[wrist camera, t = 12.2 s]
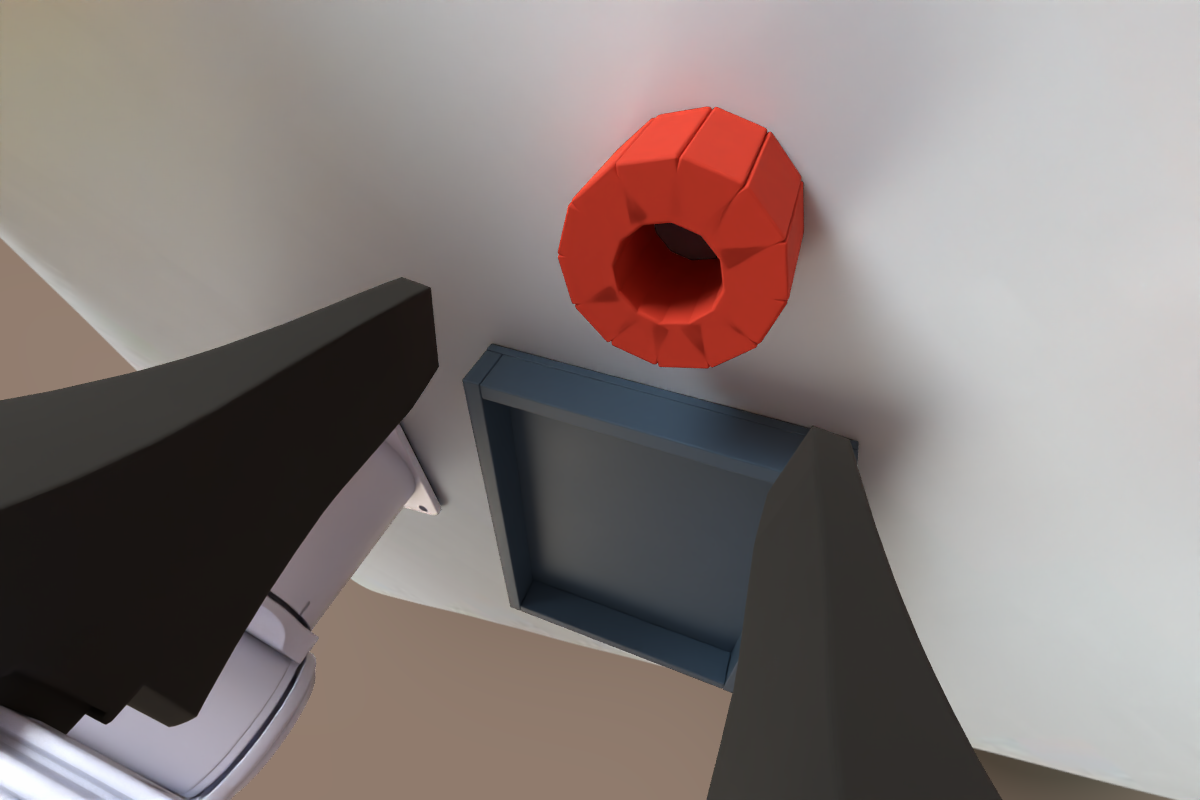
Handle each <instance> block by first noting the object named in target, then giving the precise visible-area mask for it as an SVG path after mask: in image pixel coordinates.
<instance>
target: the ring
mask: <svg viewBox="0 0 1200 800" xmlns="http://www.w3.org/2000/svg"><path fill="white" fill-rule="evenodd" d="M661 223H674V224H676V225H678V226H680V227H683V228H685V229H687V230H689V231H692V232H694V233H696V234H698V235H700V236H702V238H703V239H704V240H705V241H706V243H707V244H708V245H709V247H710V248H711V249H712V250H713V252H714V253H715V254H716V256H717V257H718V258H716V259H703V260H689V259H687V258H685V257H683V256H681V255H678V254H676V253H674V252H672V251H670V250H669V248H668V247H667V246H666V245H665V243H664V242H663V241H662V240H661V238H660V237H659V236H658V235H657V234H656V231H655V225H654V224H661ZM803 233H804V205H803V182H802V181H801V175H800V174H799V172H798V171H797V169H796V168H795V166H794V165H793V163H792V162H791V160H790V159H789V157H788V156H787V154H786V153H785V151H784V150H783V148H782V147H781V145H780V144H779V142H778V141H777V139H776V138H775V137H774V135H773V134H772V132H768V133H767V129H766V128H764V127H762V126H760V125H757V124H755V123H753V122H750V121H748V120H746V119H744V118H741V117H739V116H737V115H734V114H732V113H730V112H727V111H725V110H723V109H720V108H718V107H715V108H714V109H713V110H712V109H711V107H702V108H696V109H690V110H684V111H679V112H673V113H667V114H661V115H658V116H657V117H656V118H652V119H650V120H649V121H648V122H647V123H646V124H645V125H644V126H643V127H642V128H641V129H640V130H638V131H637V132H636V133H635V134H634V135H633V136H632V137H631V138H630V139H629V140H628V141H626V142H625V143H624V144H623V145H622V146H621V147H620V148H619V149H618V150H617V151H616V152H615V153H614V154H613V155H612V156H611V157H610V158H609V160H608V161H607V162H606V163H605V164H604V165H603V166H602V167H601V168H600V169H599V170H598V172H597V173H596V174H595V175H594V176H593V177H592V178H591V179H590V180H589V181H588V182H587V184H586V185H585V186H584V187H583V188H582V189H581V190H580V191H579V192H578V193H577V194H576V196H575V197H574V198H573V199H572V202H571V203H570V204H569V205H568V209H567V214H566V218H565V222H564V227H563V231H562V236H561V240H560V244H559V249H558V254H559V255H558V260H559V263H560V266H561V269H562V273H563V276H564V279H565V282H566V285H567V288H568V292H569V295H570V298H571V301H572V303H573V304H576V305H575V307H576V309H577V310H578V311H579V312H580V313H581V314H582V315H583V316H584V317H585V318H586V320H587V321H588V322H589V323H590V324H591V325H592V326H593V327H594V328H595V329H596V330H597V331H598V333H599V334H600V335H601V336H602V337H603V338H604V339H605V340H606V341H607V342H610V341H612V345H613V346H615V347H617V348H619V349H622V350H624V351H626V352H628V353H630V354H632V355H635V356H637V357H639V358H641V359H643V360H645V361H648V362H650V363H652V364H657V363H658V365H659V367H679V368H709V367H710V366H711V367H715V366H717V365H719V364H721V363H724V362H726V361H728V360H730V359H732V358H734V357H737V356H739V355H741V354H743V353H745V352H748V351H750V350H752V349H754V348H756V347H757V345H758V344H759V343H761V342H762V340H763V339H764V337H765V336H766V334H767V333H768V331H769V330H770V328H771V327H772V325H773V324H774V322H775V321H776V319H777V318H778V316H779V315H780V313H781V312H782V310H783V309H784V307H785V306H786V304H787V301H788V299H789V296H790V292H791V287H792V283H793V278H794V274H795V269H796V265H797V260H798V256H799V251H800V247H801V242H802V238H803Z"/></svg>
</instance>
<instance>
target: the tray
mask: <svg viewBox="0 0 1200 800" xmlns="http://www.w3.org/2000/svg"><path fill="white" fill-rule="evenodd" d="M463 386H464V390H465V395H466V400H467V404H468V409H469V414H470V419H471V423H472V428H473V433H474V437H475V442H476V447H477V452H478V456H479V461H480V466H481V470H482V475H483V480H484V484H485V489H486V494H487V499H488V503H489V508H490V513H491V517H492V522H493V527H494V531H495V536H496V541H497V546H498V550H499V555H500V560H501V564H502V569H503V574H504V578H505V583H506V588H507V593H508V597H509V602H510V607H512V608H515V609H517V610H521V611H523V612H525V613H528V614H530V615H533V616H536V617H538V618H541V619H543V620H546V621H548V622H551V623H554V624H556V625H559V626H561V627H564V628H567V629H569V630H572V631H574V632H577V633H579V634H582V635H585V636H587V637H590V638H592V639H595V640H598V641H600V642H603V643H605V644H608V645H610V646H613V647H616V648H618V649H621V650H623V651H626V652H629V653H631V654H634V655H636V656H639V657H641V658H644V659H647V660H649V661H652V662H654V663H657V664H660V665H662V666H665V667H667V668H670V669H672V670H675V671H678V672H680V673H683V674H686V675H688V676H690V677H693V678H696V679H698V680H701V681H703V682H706V683H709V684H711V685H714V686H716V687H719V688H723V690H726V691H729V692H731V693H733V688H734V683H735V677H736V671H737V666H738V659H739V651H740V644H741V636H742V629H743V621H744V614H745V606H746V599H747V591H748V584H749V577H750V570H751V562H752V555H753V548H754V543H755V539H756V535H757V531H758V527H759V523H760V519H761V515H762V512H763V508H764V504H765V501H766V497H767V493H768V492H769V490H770V489H771V487H772V486H773V484H774V483H775V481H776V480H777V478H778V477H779V475H780V474H781V472H782V471H783V469H784V468H785V466H786V465H787V463H788V462H789V460H790V459H791V457H792V456H793V454H794V453H795V451H796V450H797V448H798V447H799V445H800V444H801V442H802V441H803V439H804V438H805V436H806V435H807V433H808V432H809V430H810V429H809V428H805V427H802V426H798V425H794V424H790V423H787V422H783V421H779V420H775V419H772V418H768V417H764V416H760V415H757V414H753V413H749V412H745V411H742V410H738V409H734V408H730V407H727V406H723V405H719V404H715V403H712V402H708V401H704V400H700V399H697V398H693V397H689V396H685V395H682V394H678V393H674V392H670V391H667V390H663V389H659V388H655V387H652V386H648V385H644V384H640V383H637V382H633V381H629V380H625V379H622V378H618V377H614V376H610V375H607V374H603V373H599V372H595V371H592V370H588V369H584V368H581V367H577V366H573V365H569V364H566V363H562V362H558V361H554V360H551V359H547V358H543V357H539V356H536V355H532V354H528V353H524V352H521V351H517V350H513V349H509V348H506V347H502V346H498V345H494V344H491V345H490V346H489V347H488V348H487V351H485V353H484V354H483V355H482V356H481V358H480V359H479V360H478V361H477V362H476V364H475V365H474V366H473V367H472V369H471V370H470V371H469V372H468V374H467V375H466V376H465V377H464V378H463ZM849 440H850V439H849ZM850 443H851V445H852V448H853V452H854V455H855V459H856V462H857V464H858V444H859V443H858V441H854V440H850Z"/></svg>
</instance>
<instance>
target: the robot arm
mask: <svg viewBox="0 0 1200 800" xmlns="http://www.w3.org/2000/svg"><path fill="white" fill-rule="evenodd" d="M438 367H439V363H438V353H437V344H436V334H435V324H434V315H433V305H432V295H431V288H430V287H428V286H425V285H422V284H419V283H417V282H414V281H411V280H408V279H406V278H403V277H401V278H398V279H395V280H393V281H390V282H387V283H384V284H382V285H379V286H377V287H374V288H372V289H369V290H367V291H364V292H362V293H359V294H357V295H354V296H352V297H350V298H347V299H345V300H342V301H340V302H337V303H335V304H333V305H330V306H328V307H325V308H323V309H320V310H318V311H315V312H313V313H310V314H308V315H305V316H303V317H300V318H298V319H295V320H293V321H290V322H288V323H285V324H283V325H280V326H277V327H274V328H272V329H269V330H266V331H263V332H260V333H258V334H255V335H252V336H249V337H247V338H244V339H241V340H238V341H235V342H233V343H230V344H227V345H224V346H221V347H219V348H215V349H212V350H209V351H206V352H203V353H200V354H197V355H193V356H190V357H187V358H184V359H180V360H176V361H173V362H169V363H166V364H162V365H159V366H155V367H152V368H148V369H144V370H140V371H137V372H133V373H129V374H124V375H120V376H116V377H111V378H107V379H102V380H98V381H94V382H89V383H85V384H81V385H76V386H72V387H67V388H63V389H58V390H54V391H49V392H44V393H39V394H33V395H28V396H22V397H17V398H11V399H6V400H0V800H231V799H232V797H234V795H235V794H237V793H238V792H239V791H240V790H242V789H243V788H244V787H245V786H246V785H247V784H248V783H249V782H250V781H251V780H252V779H253V778H254V777H255V776H256V775H257V774H258V773H259V772H260V770H261V769H262V768H263V767H264V766H265V765H266V763H267V762H268V761H269V760H270V758H271V757H272V756H273V755H274V753H275V752H276V751H277V749H278V748H279V747H280V745H281V744H282V743H283V741H284V740H285V738H286V737H287V735H288V734H289V732H290V731H291V729H292V728H293V726H294V725H295V723H296V721H297V720H298V718H299V716H300V715H301V713H302V711H303V709H304V707H305V705H306V703H307V701H308V699H309V697H310V695H311V693H312V690H313V687H314V683H315V667H316V658H315V656H314V655H313V654H312V653H310V652H309V651H310V650H311V649H312V647H313V646H314V645H315V643H316V642H317V640H318V639H319V638H318V636H316V635H315V634H314V633H312V632H311V631H312V629H313V628H314V627H315V625H316V624H317V622H318V621H319V620H320V618H321V617H322V616H323V614H324V613H325V612H326V610H327V609H328V608H329V606H330V605H331V604H332V602H333V601H334V599H335V598H336V597H337V596H338V594H339V593H340V591H341V590H342V589H343V588H344V586H345V585H346V583H347V582H348V581H349V579H350V578H351V577H352V575H353V574H354V573H355V571H356V570H357V569H358V567H359V566H360V565H361V563H362V562H363V561H364V559H365V558H366V557H367V555H368V554H369V553H370V551H371V550H372V549H373V547H374V546H375V544H376V543H377V542H378V540H379V539H380V538H381V536H382V535H383V534H384V532H385V531H386V530H387V528H388V527H389V526H390V524H391V523H392V522H393V520H394V519H395V518H396V516H397V515H398V514H399V512H400V511H401V510H402V508H403V507H405V508H408V509H412V510H416V511H419V512H423V513H427V514H430V515H435V516H436V515H438V514H439V513H440V511H441V510H442V509H441V506H440V504H439V502H438V500H437V498H436V496H435V494H434V492H433V490H432V488H431V486H430V484H429V482H428V480H427V478H426V476H425V474H424V472H423V470H422V468H421V466H420V464H419V462H418V460H417V458H416V456H415V454H414V452H413V450H412V448H411V446H410V444H409V442H408V440H407V438H406V436H405V434H404V432H403V430H402V428H401V426H400V424H399V423H400V422H401V421H402V420H403V418H404V417H405V416H406V415H407V414H408V412H409V411H410V410H411V409H412V408H413V406H414V405H415V403H416V402H417V400H418V399H419V397H420V396H421V394H422V393H423V391H424V390H425V388H426V387H427V385H428V383H429V382H430V380H431V379H432V377H433V375H434V374H435V372H436V371H437V369H438ZM707 800H1002V799H1001V797H1000V795H999V794H998V792H997V790H996V788H995V787H994V785H993V783H992V781H991V780H990V778H989V777H988V775H987V773H986V771H985V769H984V768H983V766H982V764H981V763H980V761H979V759H978V757H977V756H976V754H975V752H974V750H973V748H972V746H971V744H970V742H969V740H968V738H967V737H966V735H965V733H964V731H963V729H962V727H961V725H960V723H959V721H958V719H957V718H956V716H955V714H954V712H953V710H952V708H951V706H950V704H949V702H948V700H947V698H946V696H945V694H944V691H943V689H942V687H941V685H940V683H939V681H938V679H937V677H936V675H935V673H934V671H933V669H932V667H931V664H930V662H929V660H928V658H927V656H926V654H925V651H924V649H923V647H922V645H921V642H920V640H919V638H918V635H917V633H916V631H915V628H914V626H913V624H912V621H911V619H910V616H909V614H908V611H907V609H906V607H905V604H904V602H903V599H902V597H901V594H900V592H899V589H898V586H897V584H896V581H895V579H894V576H893V573H892V571H891V568H890V565H889V562H888V559H887V557H886V554H885V551H884V548H883V545H882V542H881V540H880V537H879V534H878V531H877V528H876V525H875V522H874V519H873V516H872V512H871V509H870V506H869V503H868V500H867V496H866V493H865V490H864V486H863V483H862V480H861V476H860V473H859V469H858V466H857V462H856V459H855V455H854V452H853V448H852V445H851V443H850V440H849V439H848V438H845V437H842V436H840V435H837V434H834V433H831V432H828V431H826V430H823V429H820V428H817V427H815V426H812V427H811V429H810V430H809V432H808V433H807V435H806V436H805V438H804V439H803V441H802V442H801V444H800V445H799V447H798V448H797V450H796V451H795V453H794V454H793V456H792V457H791V459H790V460H789V462H788V463H787V465H786V466H785V468H784V469H783V471H782V472H781V474H780V475H779V477H778V478H777V480H776V481H775V483H774V484H773V486H772V487H771V489H770V490H769V492H768V493H767V497H766V501H765V504H764V508H763V512H762V515H761V519H760V523H759V527H758V531H757V535H756V539H755V543H754V548H753V555H752V562H751V570H750V577H749V584H748V591H747V599H746V606H745V614H744V621H743V629H742V636H741V644H740V651H739V659H738V666H737V671H736V677H735V683H734V688H733V694H732V698H731V702H730V706H729V710H728V714H727V719H726V723H725V727H724V731H723V735H722V740H721V744H720V748H719V752H718V756H717V760H716V764H715V768H714V772H713V776H712V780H711V784H710V788H709V792H708V796H707Z"/></svg>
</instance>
